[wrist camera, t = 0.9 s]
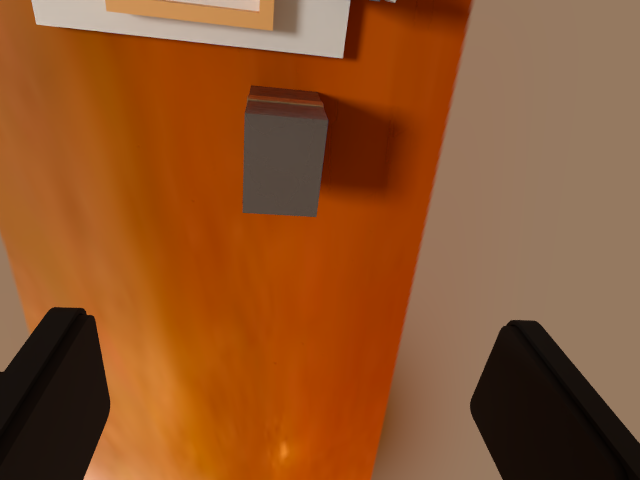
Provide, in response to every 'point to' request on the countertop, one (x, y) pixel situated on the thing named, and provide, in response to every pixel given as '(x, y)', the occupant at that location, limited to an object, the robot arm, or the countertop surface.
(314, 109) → the block
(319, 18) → the stand
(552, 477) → the robot arm
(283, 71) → the countertop surface
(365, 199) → the countertop surface
